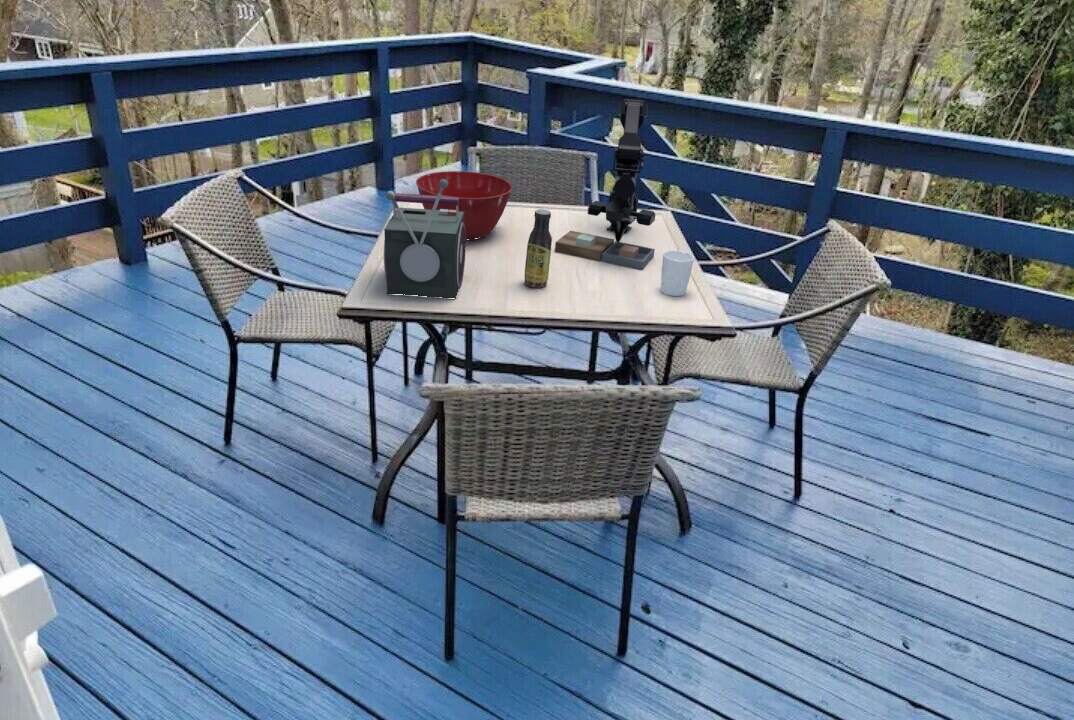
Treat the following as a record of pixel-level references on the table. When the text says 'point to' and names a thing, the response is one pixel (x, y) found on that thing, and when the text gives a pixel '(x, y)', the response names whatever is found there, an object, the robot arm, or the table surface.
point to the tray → (637, 263)
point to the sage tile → (585, 240)
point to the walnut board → (570, 248)
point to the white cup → (676, 272)
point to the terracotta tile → (628, 251)
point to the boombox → (424, 246)
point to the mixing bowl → (470, 197)
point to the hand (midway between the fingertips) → (618, 241)
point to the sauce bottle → (538, 251)
